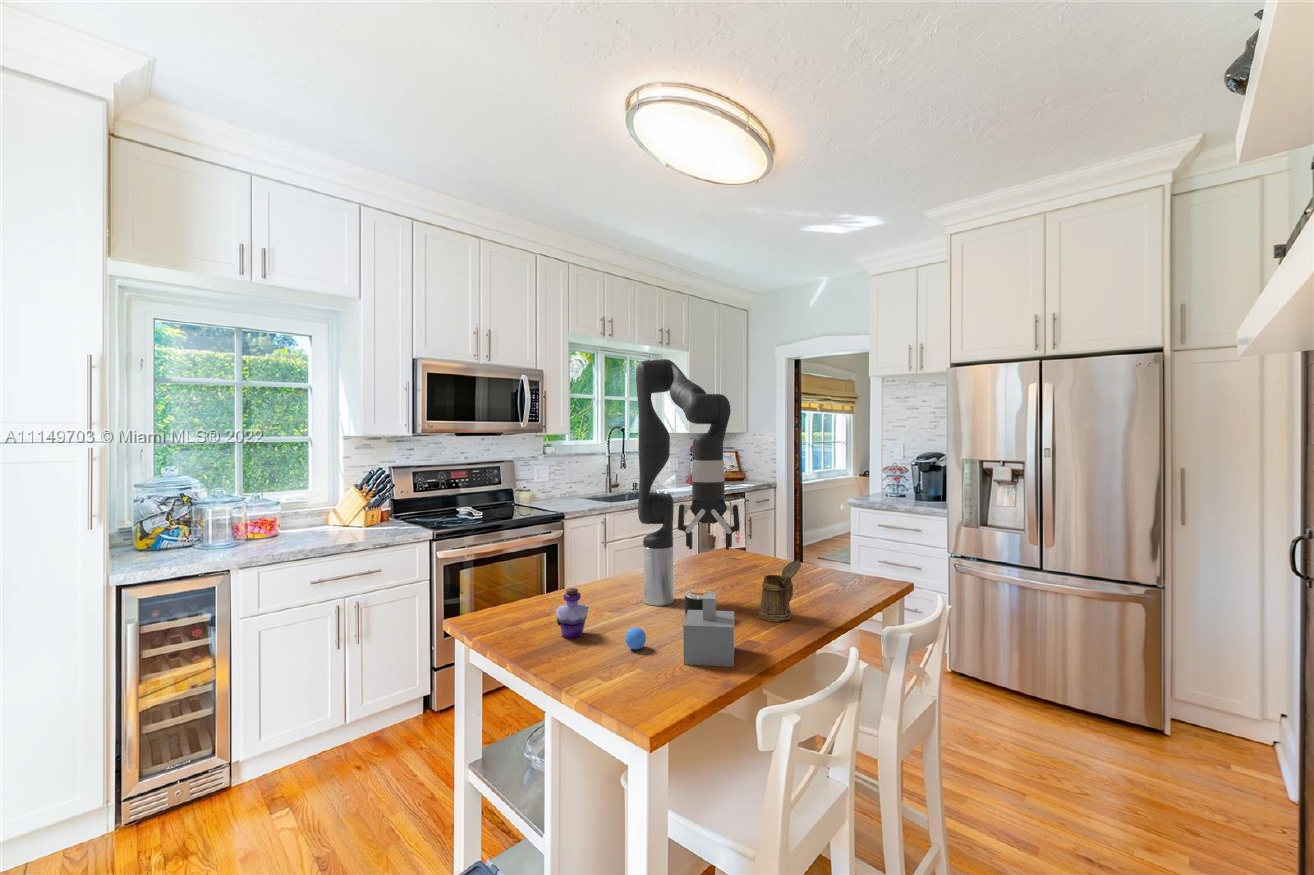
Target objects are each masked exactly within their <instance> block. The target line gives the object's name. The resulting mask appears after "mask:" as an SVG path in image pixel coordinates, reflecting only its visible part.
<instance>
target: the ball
mask: <svg viewBox="0 0 1314 875" xmlns="http://www.w3.org/2000/svg"><path fill="white" fill-rule="evenodd" d="M624 638H625V643H626V646H628V647H629V648H630V649H632V650H639V649H642V648H643V647H644V646H645V645H646V641H647V636H646V632H645V631H644V630H643V629H642V628H640V627H631V628H630V629H628V631H627V632H626V634H625V637H624Z"/></svg>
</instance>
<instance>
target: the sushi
mask: <svg viewBox="0 0 1314 875" xmlns="http://www.w3.org/2000/svg"><path fill="white" fill-rule="evenodd" d="M703 595H716V592H714V591H712V590H707V589H706V590H704V589H703V590H702V589H689V590H688V591H686V592H685V595H684V601H685V603H684V607H685V609H684V610H685V611H684V612H685V614H684V619H685V618H686V615H687V611H688V610H703ZM716 596H717V595H716Z"/></svg>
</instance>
